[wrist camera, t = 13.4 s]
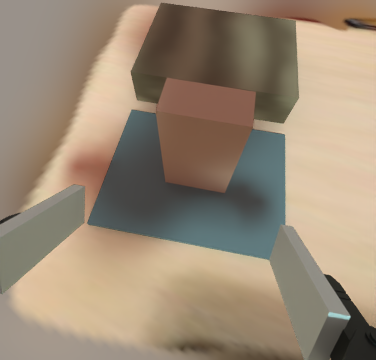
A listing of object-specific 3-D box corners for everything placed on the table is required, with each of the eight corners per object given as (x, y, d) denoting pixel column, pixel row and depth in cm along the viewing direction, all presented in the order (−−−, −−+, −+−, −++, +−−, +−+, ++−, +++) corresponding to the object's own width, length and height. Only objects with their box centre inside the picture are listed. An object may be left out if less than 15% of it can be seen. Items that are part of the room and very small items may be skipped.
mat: (283, 136, 27) (284, 134, 26) (283, 262, 20) (285, 262, 20) (132, 112, 28) (131, 109, 27) (88, 224, 21) (87, 223, 21)
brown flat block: (283, 49, 34) (295, 20, 30) (283, 123, 27) (298, 97, 24) (163, 32, 35) (161, 2, 31) (137, 99, 28) (130, 72, 25)
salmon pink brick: (228, 167, 24) (255, 91, 15) (224, 193, 23) (252, 127, 14) (172, 157, 24) (166, 77, 15) (165, 181, 23) (155, 110, 14)
